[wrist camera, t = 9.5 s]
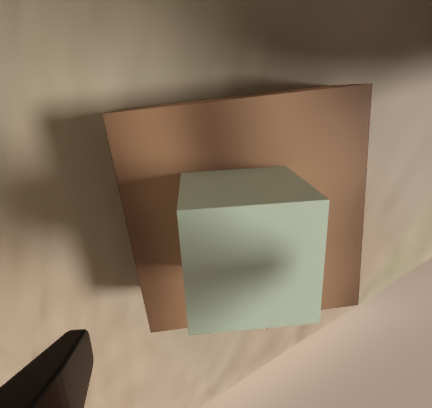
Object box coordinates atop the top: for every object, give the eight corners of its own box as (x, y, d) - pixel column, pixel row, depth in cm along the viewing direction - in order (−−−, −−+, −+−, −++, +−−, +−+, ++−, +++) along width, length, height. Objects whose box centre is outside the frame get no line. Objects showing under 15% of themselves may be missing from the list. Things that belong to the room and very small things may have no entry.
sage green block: (285, 165, 15) (329, 199, 10) (283, 258, 17) (319, 323, 12) (181, 172, 15) (176, 210, 10) (189, 265, 16) (188, 335, 12)
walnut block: (326, 85, 19) (372, 83, 14) (323, 260, 23) (358, 304, 18) (125, 108, 18) (102, 114, 14) (159, 282, 22) (150, 332, 18)
